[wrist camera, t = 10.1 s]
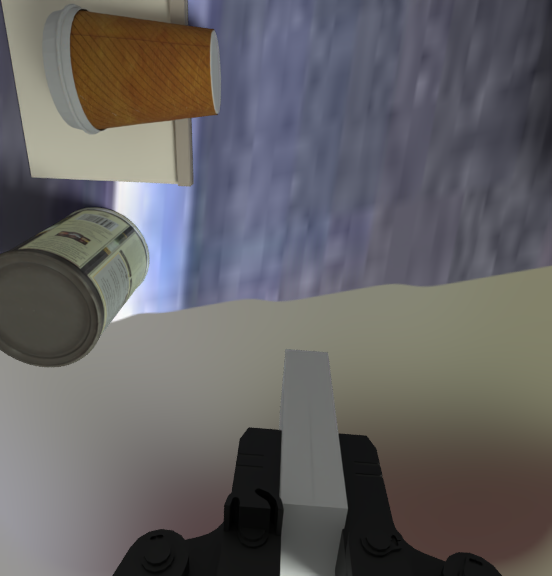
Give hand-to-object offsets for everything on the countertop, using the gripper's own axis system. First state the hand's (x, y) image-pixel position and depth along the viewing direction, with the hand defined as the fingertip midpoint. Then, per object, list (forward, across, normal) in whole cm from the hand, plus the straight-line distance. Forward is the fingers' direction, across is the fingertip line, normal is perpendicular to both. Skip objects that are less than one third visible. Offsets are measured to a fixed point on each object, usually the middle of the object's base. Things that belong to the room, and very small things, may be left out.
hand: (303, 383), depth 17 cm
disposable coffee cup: (+27, +7, -10) cm, 30 cm away
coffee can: (+32, +20, +8) cm, 39 cm away
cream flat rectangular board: (+32, +19, -10) cm, 38 cm away
